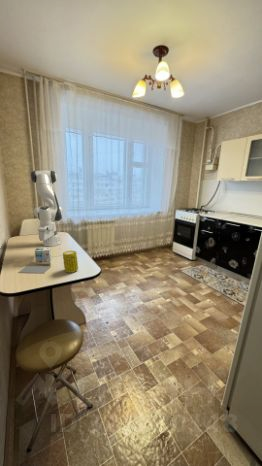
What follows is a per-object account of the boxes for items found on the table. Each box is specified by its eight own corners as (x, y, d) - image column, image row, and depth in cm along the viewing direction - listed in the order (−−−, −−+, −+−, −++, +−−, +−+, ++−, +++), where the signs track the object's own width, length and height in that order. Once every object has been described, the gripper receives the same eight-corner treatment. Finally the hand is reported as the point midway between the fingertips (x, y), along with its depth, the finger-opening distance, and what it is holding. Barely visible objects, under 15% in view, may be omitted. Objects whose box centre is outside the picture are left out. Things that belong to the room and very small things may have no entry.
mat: (27, 265, 146) (27, 265, 146) (51, 266, 146) (51, 265, 145) (18, 272, 134) (18, 272, 134) (44, 273, 134) (44, 273, 134)
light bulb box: (35, 264, 149) (34, 250, 146) (37, 260, 155) (36, 248, 152) (50, 262, 152) (49, 249, 149) (51, 259, 158) (50, 247, 155)
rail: (30, 264, 148) (29, 262, 147) (50, 265, 147) (50, 262, 147) (28, 265, 146) (28, 263, 145) (49, 266, 146) (49, 263, 145)
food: (69, 276, 134) (63, 272, 141) (84, 268, 141) (77, 264, 148) (62, 257, 128) (56, 254, 135) (78, 249, 135) (71, 247, 142)
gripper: (47, 224, 166) (49, 239, 170) (36, 229, 147) (38, 246, 150) (55, 224, 166) (56, 239, 170) (44, 229, 146) (46, 247, 150)
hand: (47, 243), depth 159 cm, fingers closed
